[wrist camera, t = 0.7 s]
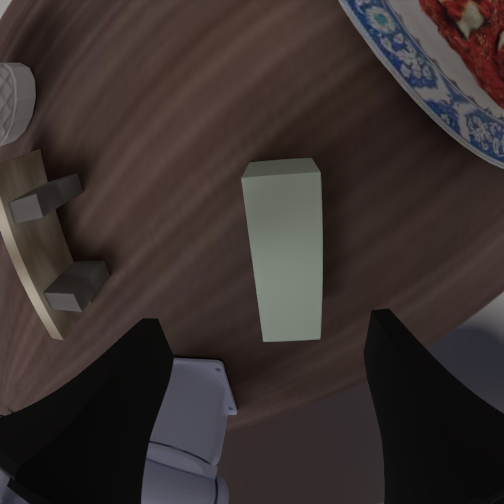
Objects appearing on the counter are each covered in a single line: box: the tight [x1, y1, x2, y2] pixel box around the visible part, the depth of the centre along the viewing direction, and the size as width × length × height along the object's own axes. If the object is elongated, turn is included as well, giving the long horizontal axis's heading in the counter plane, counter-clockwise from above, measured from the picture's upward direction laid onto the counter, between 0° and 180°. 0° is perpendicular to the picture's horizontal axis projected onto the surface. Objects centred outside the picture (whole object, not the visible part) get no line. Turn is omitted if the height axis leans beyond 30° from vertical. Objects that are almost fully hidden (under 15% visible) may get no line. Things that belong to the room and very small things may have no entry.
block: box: [241, 158, 323, 342], centre depth 16 cm, size 4×10×4 cm, turn 7°
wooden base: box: [0, 149, 110, 340], centre depth 17 cm, size 14×5×5 cm, turn 6°
